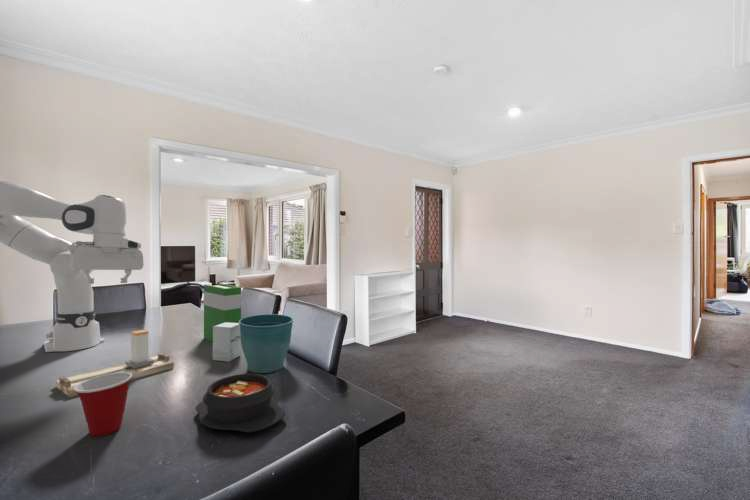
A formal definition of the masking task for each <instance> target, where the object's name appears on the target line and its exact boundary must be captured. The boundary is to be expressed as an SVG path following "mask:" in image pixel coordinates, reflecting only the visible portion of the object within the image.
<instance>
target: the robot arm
mask: <svg viewBox="0 0 750 500" xmlns="http://www.w3.org/2000/svg"><path fill="white" fill-rule="evenodd" d="M126 208H127V207H126V203H125V202H124V200H123V199H121V198H119V197H114V196H111V195H107V194H100V195H96V196H95V198H92V199H91V200H88V201H86V202H81V203H77V204H69V203H66V202H64V201H60V200H58V199H56V198H54V197H52V196H49V195H48V194H45V193H42V192H40V191H38V190H35V189H34V188H32V187H30V186H26V185H24V184H22V183H19V182H15V181H12V180H7V179H4V178H0V243H1V244H3V245H5V246H6V247H8V248H10V249H12V250H15V251H16V252H19V253H20V254H22V255H24V256H26V257H27V258H30V259H32V260H35V261H38V262H41V263H44V264H46V265H49V267H50V268H49V269H50V271H51V273H52V274H53V280H54V284H55V288H56V294H57V312H56V315H55V325H54V326H53V327H52V329H51V331H48V332H46V333H45V337H46V339H48V340H46V341H44V342H43V347H44V351H45V353H51V352H71V351H79V350H84V349H88V348H92V347H94V346H95V347H96V346H97V345H99V344H100V343H103V342H105V338H103V337H101V329H100V322H99V321H97V320H95V318H96V310H95V309H94V308H95V307H94V303H95V302H94V301H95V300H94V290H93V287H92V285H93V284H95V278H92V277H91V275H90V274H91V273H93V272H94V271H106V270H107V271H117V270H118V271H124V274H125V275H124V276H123V277H121V278H120V284H127V283H128V278H129V277H130V276H131V274H132V271H141V270H142V269H143V268H144V254H143V252H142V250H141V248H142V244H141V243H140V242H137V241H135V240H132V239H129V238H127V237H126V231H125V227H126V224H127V209H126ZM22 217H26V218H39V219H52V220H58V221H61V222H62V225H63V226H64V228H65V229H67V230H68V231H71V232H73V233H79V234H84V235H92V241H81V240H79V241H78V240H77V241H76V242H73V243H71V242H70V241H67V240H65V239H62V238H61V237H58V236H56V235H54V234H52V233H50V232H48V231H46V230H45V229H43V228H41V227H39V226H37V225H35V224H34V223H32V222H30V221H28V220H26V219H24V218H22Z"/></svg>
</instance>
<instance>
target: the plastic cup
mask: <svg viewBox="0 0 750 500" xmlns="http://www.w3.org/2000/svg"><path fill="white" fill-rule="evenodd" d="M131 378H132V373H129V372H118V373H111V374H106V375H102V376H98V377H94V378H91V379H88V380H86V381H84V382H81V383H79V384H78V385H77V386H75V387H74V390H75V392H77V394H78V397H79V399H80V401H81V405H82V409H83V413H84V417H85V422H86V423H87V428H88V433H89V434H90V436H92V437H104V436H108V435H111V434H112V433H113V434H114V433H115V432H117V431H119V430H120V429H121V427H122V423H123V419H124V413H125V411H126V403H127V398H128V392H129V389H130V388H129V387H130V383H131V381H132V380H131Z"/></svg>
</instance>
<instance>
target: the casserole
mask: <svg viewBox="0 0 750 500" xmlns="http://www.w3.org/2000/svg"><path fill="white" fill-rule="evenodd" d="M275 391H276V389H275V386H274V385H273V383H272V381H271V379H270V378H269V377H267V376H265V375H262V374H259V373H242V374H241V373H240V374H235V375H230V376H226V377H223V378H220V379H217V380H216V381H213V382H212V383H211V384H210V385H209V386H208V388H207V390H206V392H205V394H203V397H202V401H200V402H199V403H197V404H196V406H195V411H196V412H197V413H198V419H199V422H200V423H201V424H202V425H204V426H205V427H208V428H210V429H214V430H215V429H216V430H219V431H220V430H223V431H237V432H244V433H253V432H258V431H262V430H265V429H267V428H269V427H271V426H273V425H275V424H277V423H278V422H280V421H281V420H282V419H283V418H284V417H285V415H286V411H285V410H284V409H283V408H282V407H281V406H280V405H279V403H278V402H277V399H275V398H274V397H273V395H274V393H275Z"/></svg>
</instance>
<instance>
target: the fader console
mask: <svg viewBox="0 0 750 500" xmlns="http://www.w3.org/2000/svg"><path fill="white" fill-rule="evenodd" d="M148 358H150V359H153V360H154V364H150V365H146V366H142V367H138V368H135V369H133V368H131V367H129V366H127V365H126V362H124V363H122V364H115V365H113V366H109V367H105V368H100V369H96V370H93V371H89V372H84V373H80V374H79V373H78V374H76V375H72V376H68V377H65V376H59V377H58V379H56V380H55V387H56V389H57V390H59V391H61V392H62V393H63V394H65V395H66V396H67V397H68V398H73V397H79V395H78V394H77V392H75V390H74V387H75V386H77V385H78V384H79V383H81V382H84V381H86V380H88V379H91V378H94V377H98V376H102V375H106V374H111V373H118V372H129V373H132V378H131V380H130V381H134V380H136V379H140V378H143V377H148V376H151V375H154V374H157V373H161V372H165V371H168V370H171V369H174V368H175V366H174V365H175V362H174V361H172V360H170V355H168V354H166V353H162V352H159V353H157V355H152V356H148Z"/></svg>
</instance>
